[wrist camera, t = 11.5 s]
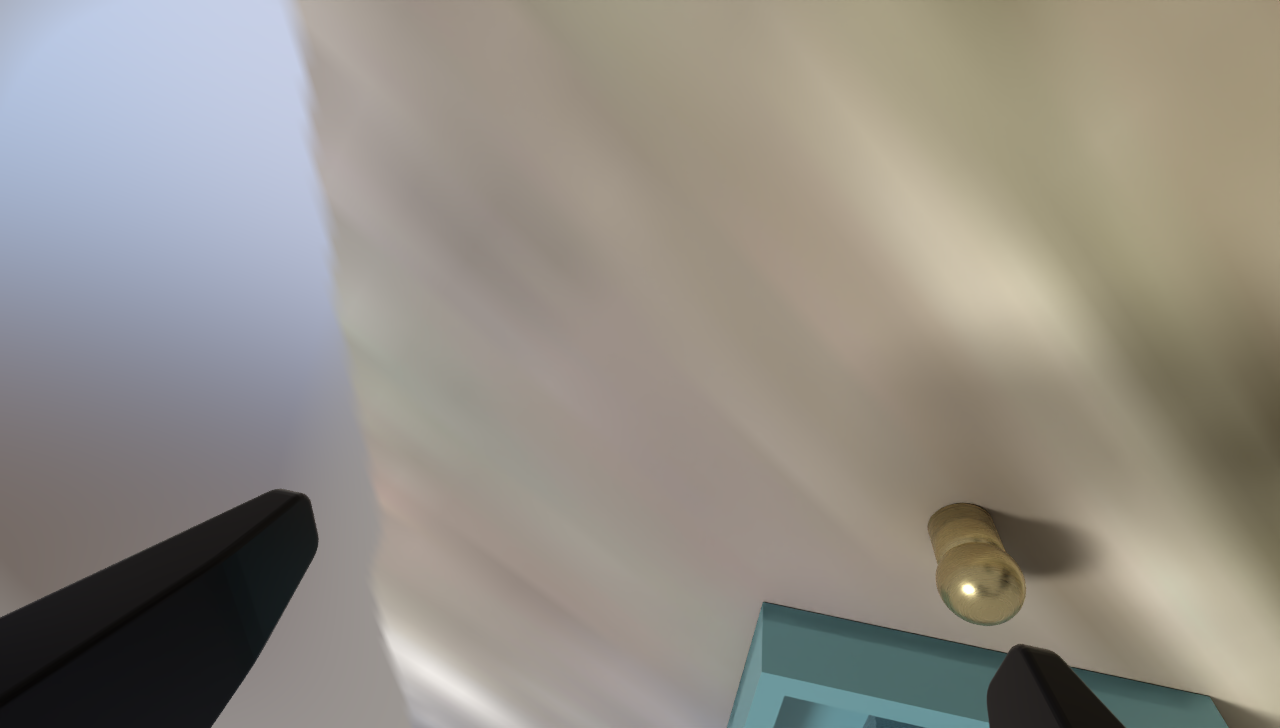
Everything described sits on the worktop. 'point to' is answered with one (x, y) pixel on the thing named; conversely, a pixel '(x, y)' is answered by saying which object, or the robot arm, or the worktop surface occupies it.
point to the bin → (906, 680)
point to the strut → (886, 723)
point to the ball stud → (974, 566)
